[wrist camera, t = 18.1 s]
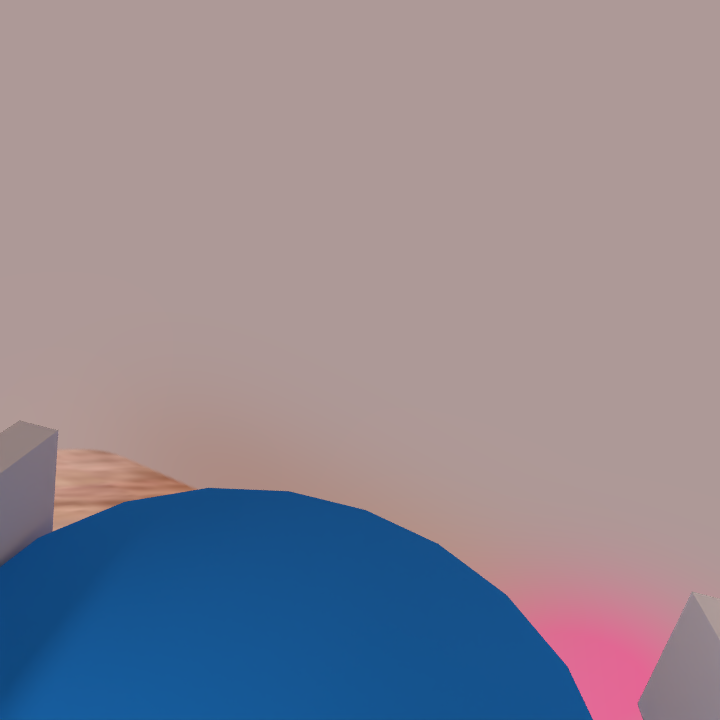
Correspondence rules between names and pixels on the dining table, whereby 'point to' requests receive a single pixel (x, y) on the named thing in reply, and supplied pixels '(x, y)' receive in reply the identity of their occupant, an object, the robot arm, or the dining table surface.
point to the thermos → (263, 620)
